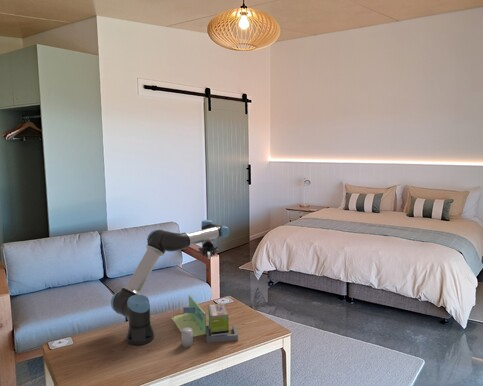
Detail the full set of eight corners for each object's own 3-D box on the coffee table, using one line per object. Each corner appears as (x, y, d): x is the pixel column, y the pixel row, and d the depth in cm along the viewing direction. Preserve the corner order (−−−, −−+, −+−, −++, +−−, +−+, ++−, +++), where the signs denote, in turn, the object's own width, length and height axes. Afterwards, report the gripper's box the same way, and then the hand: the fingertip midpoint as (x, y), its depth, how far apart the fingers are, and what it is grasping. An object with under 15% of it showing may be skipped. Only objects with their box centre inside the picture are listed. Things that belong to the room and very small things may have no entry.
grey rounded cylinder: (181, 347, 210) (181, 333, 209) (181, 341, 216) (181, 328, 215) (192, 346, 211) (192, 332, 210) (192, 340, 217) (192, 327, 216)
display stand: (206, 334, 225) (205, 313, 223) (185, 339, 219) (184, 318, 218) (189, 313, 251) (189, 294, 250) (170, 317, 246) (169, 298, 244)
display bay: (206, 342, 215) (206, 337, 214) (206, 330, 228) (205, 325, 227) (238, 340, 216) (237, 335, 216) (235, 328, 230) (235, 323, 229)
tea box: (208, 328, 231) (207, 304, 229) (225, 326, 233) (224, 302, 231) (211, 341, 216) (210, 315, 214) (229, 339, 218) (228, 313, 216)
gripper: (217, 251, 266) (219, 262, 243) (198, 252, 264) (198, 263, 241) (217, 240, 265) (219, 250, 242) (197, 241, 263) (198, 251, 240)
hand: (209, 256), depth 241 cm, fingers closed
